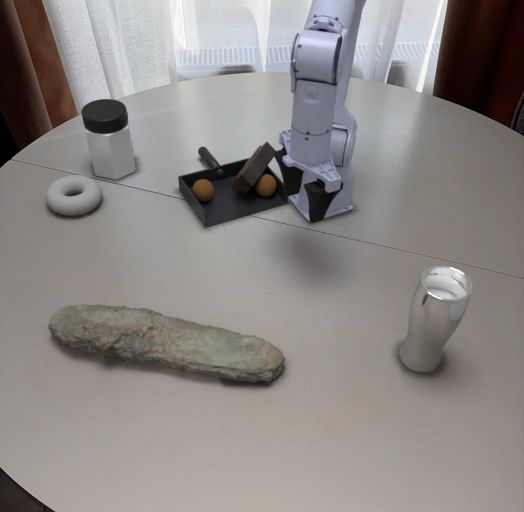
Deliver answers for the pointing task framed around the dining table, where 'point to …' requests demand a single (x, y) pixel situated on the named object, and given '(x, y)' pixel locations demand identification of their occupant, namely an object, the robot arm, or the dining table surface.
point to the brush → (253, 168)
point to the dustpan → (227, 192)
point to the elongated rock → (166, 342)
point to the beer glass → (434, 316)
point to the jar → (109, 138)
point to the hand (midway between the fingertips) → (304, 207)
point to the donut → (73, 204)
